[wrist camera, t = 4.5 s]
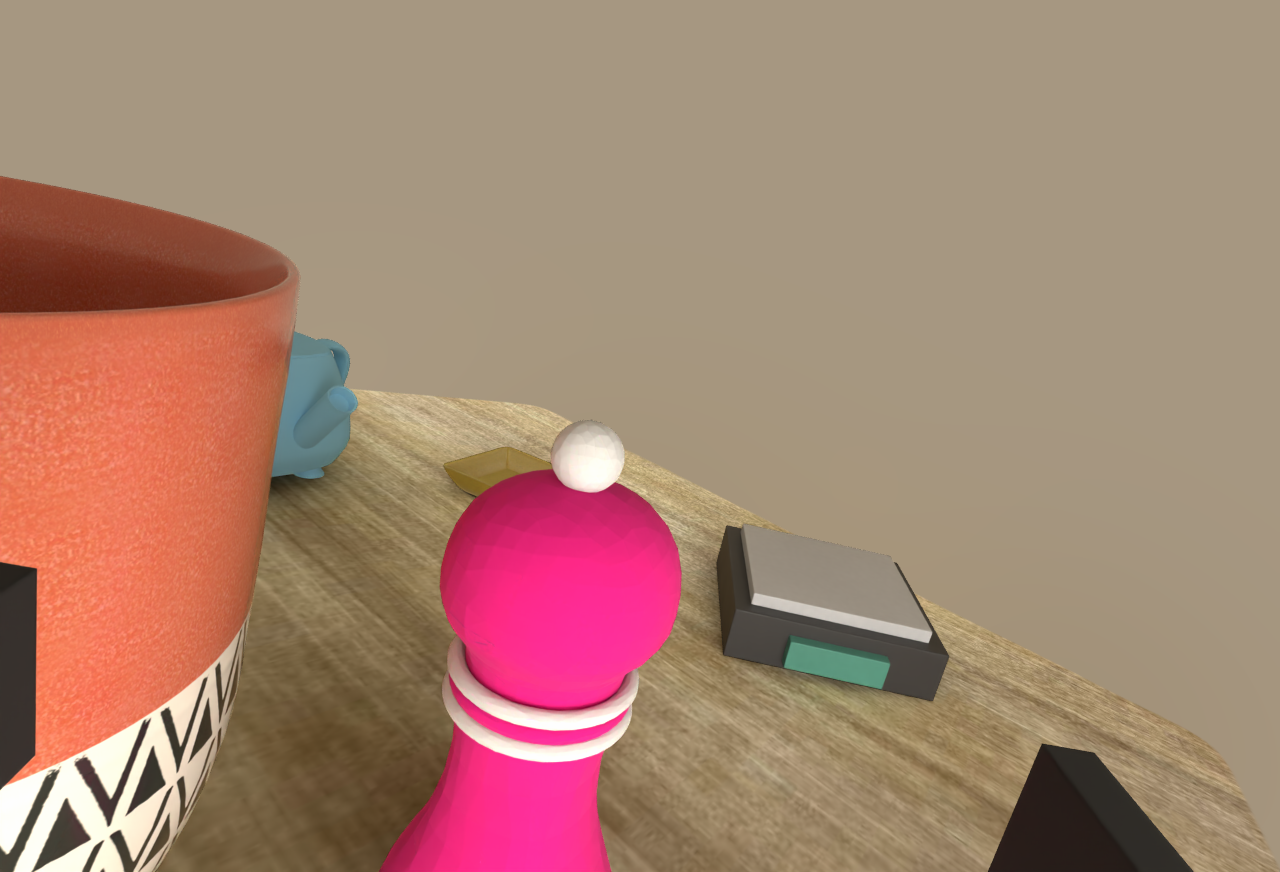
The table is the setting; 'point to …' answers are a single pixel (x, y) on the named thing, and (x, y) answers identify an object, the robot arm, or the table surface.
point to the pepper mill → (542, 661)
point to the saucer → (491, 468)
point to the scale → (825, 612)
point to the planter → (131, 506)
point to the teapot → (314, 408)
